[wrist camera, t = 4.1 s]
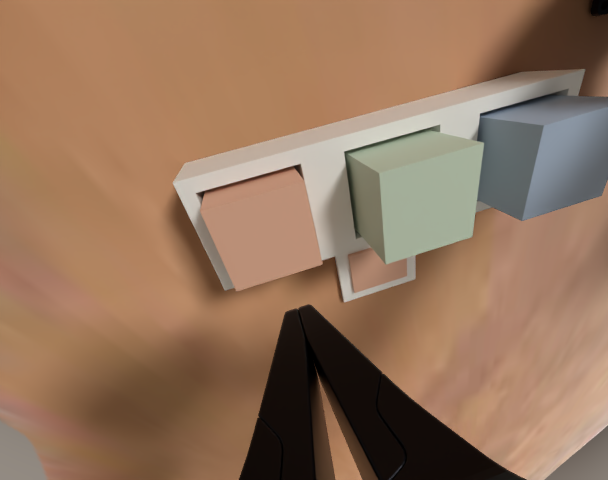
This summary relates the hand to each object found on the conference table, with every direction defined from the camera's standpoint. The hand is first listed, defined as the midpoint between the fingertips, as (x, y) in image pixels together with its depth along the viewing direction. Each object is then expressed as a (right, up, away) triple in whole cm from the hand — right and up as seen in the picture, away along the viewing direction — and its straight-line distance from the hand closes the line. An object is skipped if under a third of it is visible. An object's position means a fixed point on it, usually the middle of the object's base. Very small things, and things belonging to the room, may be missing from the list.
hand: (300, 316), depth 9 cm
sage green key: (+5, +6, +9) cm, 12 cm away
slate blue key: (+13, +9, +9) cm, 18 cm away
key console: (+5, +8, +11) cm, 14 cm away
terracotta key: (-3, +5, +9) cm, 11 cm away
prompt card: (+6, +1, +15) cm, 16 cm away
